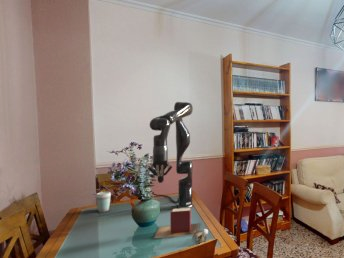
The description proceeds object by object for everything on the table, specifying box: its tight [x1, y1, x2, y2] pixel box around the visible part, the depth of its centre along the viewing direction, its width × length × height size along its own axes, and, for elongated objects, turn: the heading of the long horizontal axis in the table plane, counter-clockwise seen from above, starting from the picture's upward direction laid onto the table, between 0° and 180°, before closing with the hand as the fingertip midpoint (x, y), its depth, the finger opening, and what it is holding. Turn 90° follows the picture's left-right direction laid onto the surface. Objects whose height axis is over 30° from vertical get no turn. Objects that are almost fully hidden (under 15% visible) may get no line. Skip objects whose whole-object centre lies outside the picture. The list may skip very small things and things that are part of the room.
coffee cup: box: [95, 191, 112, 213], centre depth 172 cm, size 8×8×12 cm
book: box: [169, 207, 192, 233], centre depth 143 cm, size 10×5×12 cm, turn 105°
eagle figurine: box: [191, 228, 209, 246], centre depth 132 cm, size 8×7×9 cm
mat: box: [153, 223, 200, 239], centre depth 144 cm, size 22×14×1 cm, turn 106°
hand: (160, 182), depth 147 cm, fingers closed
